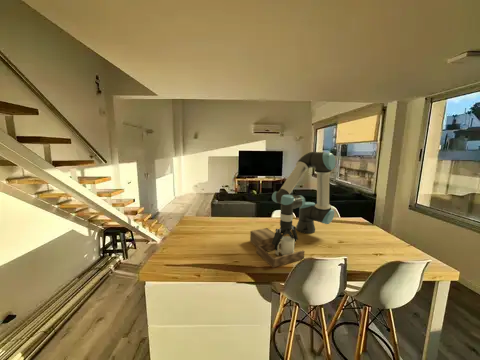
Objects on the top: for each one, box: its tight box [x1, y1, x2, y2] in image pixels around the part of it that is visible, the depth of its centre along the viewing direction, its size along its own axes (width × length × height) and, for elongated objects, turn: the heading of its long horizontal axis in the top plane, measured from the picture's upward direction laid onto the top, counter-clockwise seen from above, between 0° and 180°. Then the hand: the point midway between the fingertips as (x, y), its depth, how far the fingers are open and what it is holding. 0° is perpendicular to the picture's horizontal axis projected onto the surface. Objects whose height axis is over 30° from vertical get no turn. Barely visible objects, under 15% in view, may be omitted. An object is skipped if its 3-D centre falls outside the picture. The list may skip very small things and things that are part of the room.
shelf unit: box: [249, 227, 306, 268], centre depth 143 cm, size 23×34×8 cm
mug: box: [278, 235, 296, 256], centre depth 137 cm, size 12×8×10 cm
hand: (284, 252), depth 138 cm, fingers closed on mug, 11 cm apart
